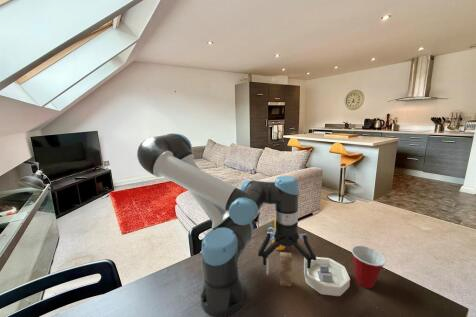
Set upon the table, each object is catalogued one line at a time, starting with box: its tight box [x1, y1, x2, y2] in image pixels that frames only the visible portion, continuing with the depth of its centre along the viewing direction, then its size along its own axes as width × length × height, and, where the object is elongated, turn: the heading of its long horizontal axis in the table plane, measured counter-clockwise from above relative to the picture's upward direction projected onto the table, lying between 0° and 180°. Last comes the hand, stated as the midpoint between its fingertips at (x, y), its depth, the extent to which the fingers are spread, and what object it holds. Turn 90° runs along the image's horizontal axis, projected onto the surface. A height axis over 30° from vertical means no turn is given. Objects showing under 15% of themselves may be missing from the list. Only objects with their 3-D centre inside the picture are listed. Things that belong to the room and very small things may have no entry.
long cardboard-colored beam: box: [279, 251, 293, 287], centre depth 78 cm, size 4×2×12 cm, turn 81°
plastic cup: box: [351, 244, 387, 289], centre depth 77 cm, size 11×11×12 cm
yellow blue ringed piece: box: [267, 215, 286, 251], centre depth 100 cm, size 12×10×15 cm
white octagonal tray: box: [304, 256, 351, 297], centre depth 81 cm, size 15×15×4 cm
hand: (286, 273), depth 79 cm, fingers open, 13 cm apart
